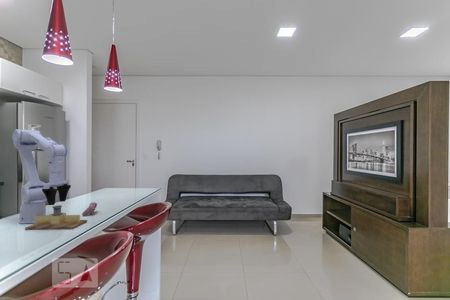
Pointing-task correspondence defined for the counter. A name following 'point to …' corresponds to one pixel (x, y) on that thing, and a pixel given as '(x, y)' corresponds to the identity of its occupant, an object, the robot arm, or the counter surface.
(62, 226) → the hinge board
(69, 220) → the hinge
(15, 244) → the counter surface
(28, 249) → the counter surface
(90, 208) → the mauve lumpy piece
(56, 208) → the hinge pin
